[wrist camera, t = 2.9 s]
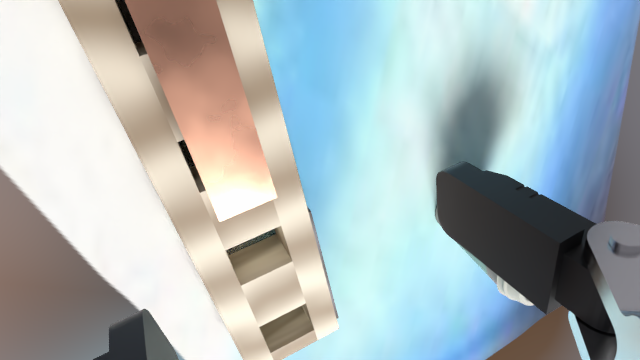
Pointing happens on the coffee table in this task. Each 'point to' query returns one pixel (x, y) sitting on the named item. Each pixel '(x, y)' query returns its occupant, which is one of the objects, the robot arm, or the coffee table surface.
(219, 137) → the pinkish brown rectangular block
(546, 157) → the coffee table surface
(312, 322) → the rail
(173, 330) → the coffee table surface
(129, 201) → the coffee table surface
